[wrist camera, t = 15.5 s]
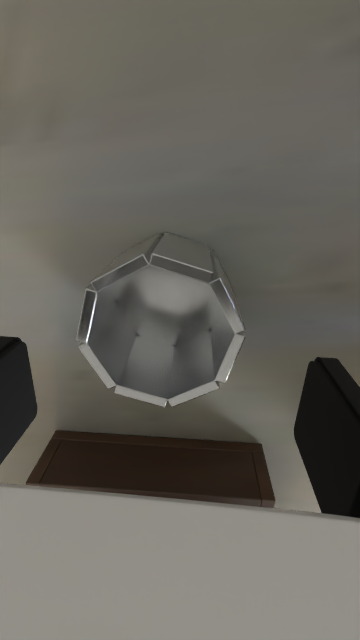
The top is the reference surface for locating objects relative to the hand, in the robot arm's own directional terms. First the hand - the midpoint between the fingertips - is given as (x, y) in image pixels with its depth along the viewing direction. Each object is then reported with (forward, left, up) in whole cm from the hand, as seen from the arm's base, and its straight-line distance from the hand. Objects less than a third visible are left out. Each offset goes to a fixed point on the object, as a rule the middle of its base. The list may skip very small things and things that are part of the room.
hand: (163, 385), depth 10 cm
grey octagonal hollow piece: (0, -1, -8) cm, 8 cm away
